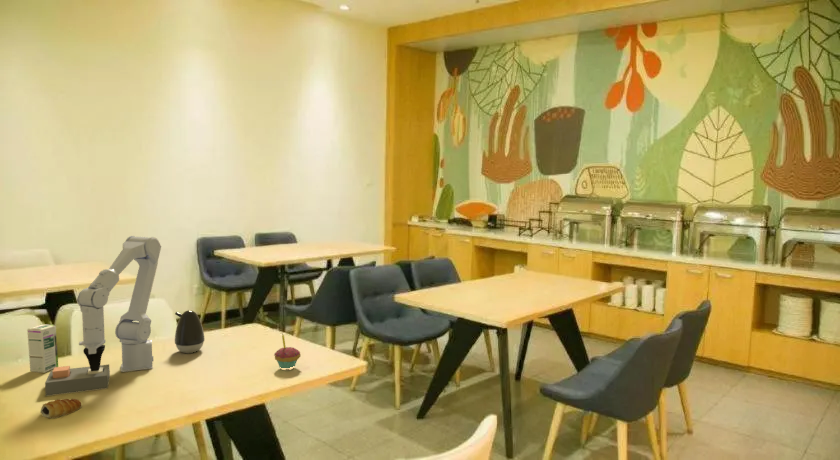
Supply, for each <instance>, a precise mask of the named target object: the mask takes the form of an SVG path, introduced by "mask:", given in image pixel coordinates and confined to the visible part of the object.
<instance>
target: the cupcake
mask: <svg viewBox="0 0 840 460" xmlns="http://www.w3.org/2000/svg"><path fill="white" fill-rule="evenodd" d="M281 334H282V335H281V338H282V346H283V347H281V348H279V349H278V350H276V352H274V355H273V356H274V360H276V362H277V364H278V366H279V368H280V367H281V368H290V367H293V366H296V364H297V361H298V360H299V359H300V358H301V352H300V351H299V350H298V349H296V348H295V347H293V346H286V340H285V334H283V332H281Z"/></svg>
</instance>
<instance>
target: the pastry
mask: <svg viewBox="0 0 840 460" xmlns="http://www.w3.org/2000/svg"><path fill="white" fill-rule="evenodd" d="M80 408H82V402H81V400H79V399H78V398H77V399H76V398H71V399H68V398H63V399H60V398H59V399H58V398H57V399H55V400H52V401H48V402H47V403H43V404H42V407H40V413H41V416H42V417H44V418H48V419H57V418H60V417H61V416H68V415H69V414H72V413H75V412H77V411H78V410H80Z"/></svg>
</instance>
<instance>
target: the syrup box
mask: <svg viewBox="0 0 840 460" xmlns="http://www.w3.org/2000/svg"><path fill="white" fill-rule="evenodd" d="M26 331H27V345H28V356H29V359H28V361H29V371H30V372H34V373H42V374H43V373H44V374H45V373H47V372H50V371H53V370H54V367H59V358H58V357H59V356H58V340H57V326H56V325H55V324H48V323H46V324H40V325H36V326H34V327H30V328H27V329H26Z"/></svg>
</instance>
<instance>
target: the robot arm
mask: <svg viewBox="0 0 840 460" xmlns="http://www.w3.org/2000/svg"><path fill="white" fill-rule="evenodd" d="M161 250H162V245H161V242H159V239H158V238H156V237H154V236H151V237H148V236H135V235H130V236H128V237H127V238H126V239H125V241H123V243H122V249H121V251H120V252H119V254H118V255H117V257H116V258H115V260H114V261H113V262H112V264H111V265H110V267H108V269H107V268H105V269H103V270H101V271H99V273H98V275H97V276H96V278H95V279H94V280H93V281H92V283H90V285H89V286H88V287H85V288H83V289H81V290H80V292H79V293H78V295H77V298H76V303H77V305H78V306H79V308H80V312H81V313H82V314H81V317H82V337H83V338H82V339H83V340H82V341H79V343H78V345H79V346H83V347H84V349H83V354H84V356H85V357H86V359H87V361H88V365H89V367H90V369H91V371H98V370H99V368H100V365H101V362H102V361H101V360H102V356H103V353H104V351H105V349H106V345H105V343H106V339H105V337H106V336H105V335H106V334H105V314H104V312H105V311H104V306H105V305H107V303H108V301H109V296H110V293H111V291H112V290H113V289H114V288H115V286H116V285H117V284H118V282H119V281H120V274H121V273H122V272H123V271H125V269H126V268H127V267H128V266H129V265H130V264H131V262H133V260H134V261H135V262H136V263H137V264H138V266H139V267H138V269H137V270H138V271H137V274H136V278H135V282H134V287H133V291H132V295H131V299H130V302H129V307H128V310H127V312H125V313H124V314H122V315H121V316H120V319H119V321H118V323H117V325H116V327H115V331H114V333H115V337H116V338H117V339H118V340H119V342H120V343H121V366H120V372H121V373H124V372H132V371H133V372H134V371H143V370H151V369H153V362H154V355H153V340H152V339H149V337H150V336H151V331H152V329H151V328H152V327H151V324H152V319H151V318H150V317H149V316H148V315H147V310H148V306H149V302H150V297H151V294H152V289H153V284H154V281H155V280H154V279H155V276H156V273H157V269H158V263H159V258H160V254H161Z"/></svg>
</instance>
